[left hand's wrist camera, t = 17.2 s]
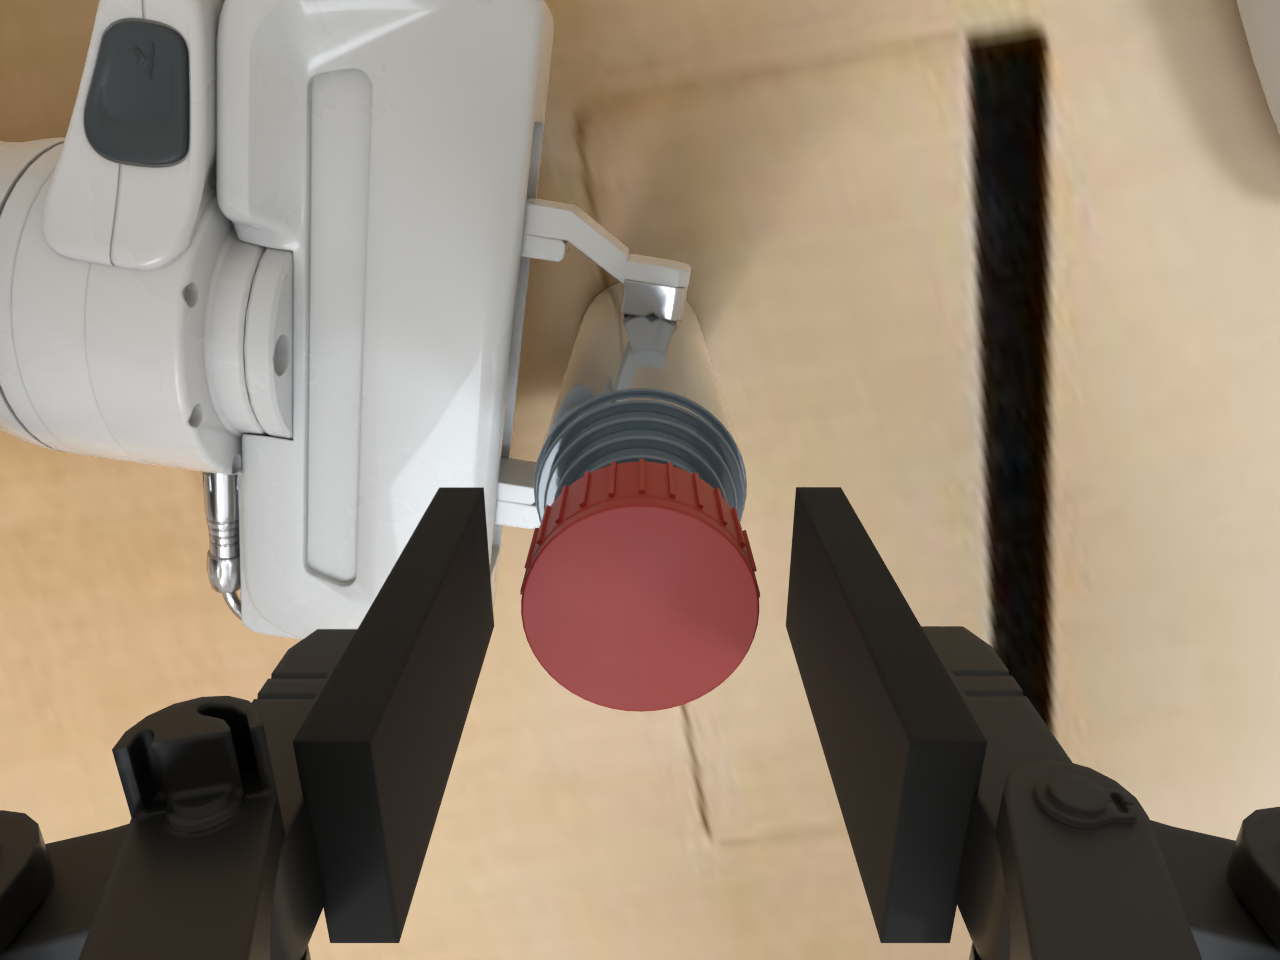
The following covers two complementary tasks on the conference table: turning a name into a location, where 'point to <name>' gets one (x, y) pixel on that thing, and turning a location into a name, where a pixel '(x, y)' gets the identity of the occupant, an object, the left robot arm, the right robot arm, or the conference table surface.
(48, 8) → the conference table surface
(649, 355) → the bottle
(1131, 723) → the conference table surface
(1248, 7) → the projector
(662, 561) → the cap
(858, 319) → the conference table surface
